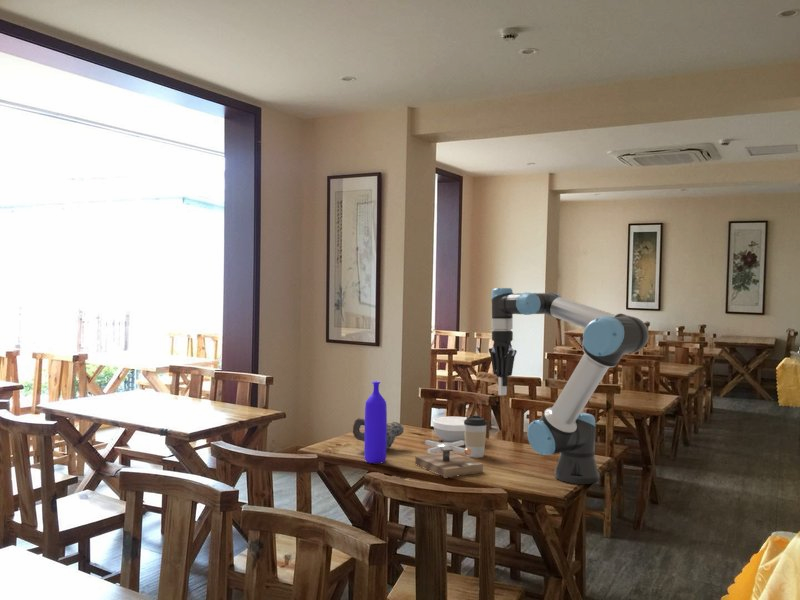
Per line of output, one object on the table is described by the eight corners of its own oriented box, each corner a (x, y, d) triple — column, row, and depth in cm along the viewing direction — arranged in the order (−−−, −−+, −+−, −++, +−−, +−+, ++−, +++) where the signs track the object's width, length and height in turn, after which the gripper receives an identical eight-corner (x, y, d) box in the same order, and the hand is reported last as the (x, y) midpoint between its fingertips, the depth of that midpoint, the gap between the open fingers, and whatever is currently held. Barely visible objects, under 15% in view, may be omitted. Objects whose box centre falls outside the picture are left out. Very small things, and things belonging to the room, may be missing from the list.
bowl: (424, 441, 289) (424, 421, 289) (447, 434, 304) (447, 414, 304) (463, 448, 278) (463, 427, 278) (484, 440, 294) (485, 419, 294)
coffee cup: (485, 458, 262) (486, 420, 261) (462, 457, 264) (462, 418, 263) (487, 453, 271) (487, 415, 270) (464, 451, 272) (465, 414, 272)
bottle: (378, 465, 250) (379, 384, 250) (359, 461, 255) (360, 382, 254) (390, 460, 258) (391, 381, 257) (372, 457, 262) (373, 379, 261)
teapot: (399, 444, 284) (399, 408, 284) (408, 450, 273) (408, 413, 273) (349, 447, 277) (349, 410, 277) (356, 454, 266) (357, 415, 266)
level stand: (482, 472, 243) (483, 453, 243) (445, 478, 235) (445, 458, 235) (451, 459, 260) (451, 441, 260) (415, 464, 252) (415, 446, 252)
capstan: (486, 450, 246) (487, 444, 246) (453, 460, 232) (453, 453, 232) (442, 441, 261) (442, 435, 261) (408, 449, 246) (408, 443, 246)
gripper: (522, 330, 245) (522, 396, 245) (498, 329, 256) (498, 392, 256) (506, 331, 241) (506, 397, 241) (482, 329, 252) (483, 393, 252)
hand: (502, 394), depth 248 cm, fingers closed
